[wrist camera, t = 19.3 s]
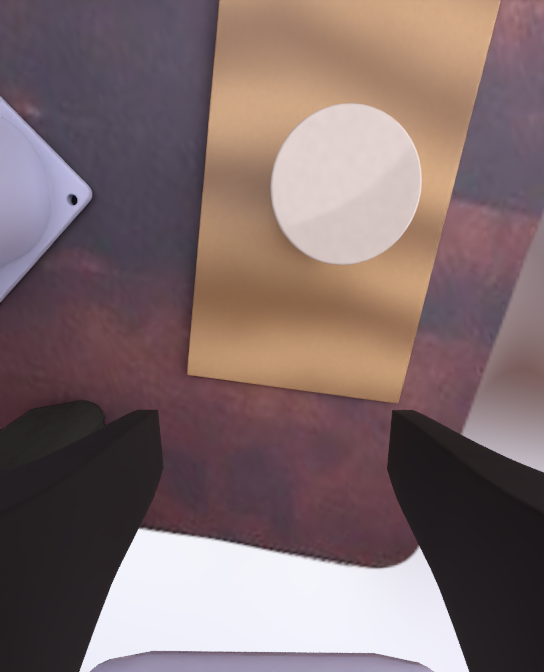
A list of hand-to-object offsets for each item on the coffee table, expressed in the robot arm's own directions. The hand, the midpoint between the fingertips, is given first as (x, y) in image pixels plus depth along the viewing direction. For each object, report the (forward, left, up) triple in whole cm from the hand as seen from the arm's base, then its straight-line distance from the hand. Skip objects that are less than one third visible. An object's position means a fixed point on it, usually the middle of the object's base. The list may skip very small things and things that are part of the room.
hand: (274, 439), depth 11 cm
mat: (+7, +4, -9) cm, 12 cm away
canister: (+7, +4, -9) cm, 12 cm away
